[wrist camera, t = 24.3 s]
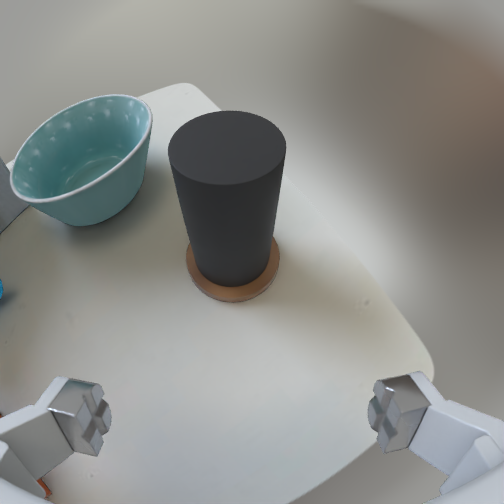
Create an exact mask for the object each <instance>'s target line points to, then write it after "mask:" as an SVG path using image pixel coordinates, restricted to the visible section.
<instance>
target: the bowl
mask: <svg viewBox="0 0 504 504" xmlns="http://www.w3.org/2000/svg"><path fill="white" fill-rule="evenodd" d="M151 128H152V112H151V110H150V108H149V106H148V105H147V104H146V103H145V102H143V101H142V100H140V99H138V98H136V97H133V96H129V95H120V94H116V95H104V96H98V97H94V98H90V99H87V100H84V101H81V102H78V103H76V104H74V105H72V106H70V107H68V108H66V109H64V110H62V111H60V112H58V113H57V114H55V115H54V116H52V117H51V118H49V119H48V120H47V121H45V122H44V123H43V124H42V125H40V126H39V127H38V128H37V129H36V130H35V131H34V132H33V133H32V134H31V135H30V137H29V138H28V139H27V140H26V141H25V143H24V144H23V145H22V147H21V148H20V150H19V152H18V153H17V155H16V158H15V159H14V162H13V164H12V168H11V172H10V184H11V188H12V190H13V192H14V193H15V195H16V196H17V197H19V198H20V199H21V200H23V201H25V202H26V203H28V204H30V205H31V206H33V207H35V208H37V209H38V210H40V211H42V212H44V213H46V214H48V215H50V216H52V217H54V218H56V219H58V220H60V221H62V222H64V223H66V224H69V225H73V226H88V225H93V224H97V223H99V222H102V221H104V220H107V219H109V218H110V217H112V216H114V215H115V214H117V213H118V212H119V211H121V210H122V209H123V208H124V207H126V206H127V205H128V204H129V203H130V201H131V200H132V199H133V198H134V196H135V195H136V194H137V192H138V190H139V188H140V186H141V184H142V181H143V177H144V171H145V165H146V160H147V154H148V148H149V141H150V135H151Z"/></svg>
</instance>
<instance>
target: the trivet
mask: <svg viewBox="0 0 504 504" xmlns="http://www.w3.org/2000/svg"><path fill="white" fill-rule="evenodd" d="M186 262H187V267H188V270H189V273H190V276H191V278H192V280H193V282H194V283H195V285H196V286H197V287H198V288H199V289H200V290H201V291H202V292H203V293H205V294H206V295H208V296H210V297H212V298H214V299H217V300H220V301H225V302H240V301H245V300H248V299H251V298H254V297H255V296H257V295H259V294H261V293H262V292H263V291H264V290H266V289H267V288H268V286H269V285H270V284H271V283H272V281H273V280H274V278H275V275H276V273H277V269H278V265H279V249H278V245H277V243H276V241H275V239H274V237H272V244H271V250H270V256H269V261H268V264H267V267H266V269H265V270H264V272H263V273H262V274H261V275H260V276H259V277H258V278H257V279H256V280H254V281H252V282H251V283H249V284H246V285H243V286H238V287H225V286H220V285H217V284H215V283H212V282H211V281H209V280H208V279H206V278H205V277H204V276H203V275H202V274H201V272H200V271H199V269H198V267H197V265H196V262H195V258H194V255H193V251H192V248H191V244H190V243H189V245H188V249H187V254H186Z"/></svg>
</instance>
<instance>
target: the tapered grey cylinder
mask: <svg viewBox="0 0 504 504" xmlns="http://www.w3.org/2000/svg"><path fill="white" fill-rule="evenodd" d="M285 154H286V141H285V138H284V136H283V134H282V132H281V131H280V130H279V129H278V128H277V127H276V126H275V125H274V124H273V123H272V122H270V121H268V120H267V119H265V118H263V117H261V116H258V115H255V114H251V113H248V112H242V111H219V112H212V113H208V114H205V115H201V116H199V117H196V118H194V119H192V120H190V121H188V122H187V123H185V124H184V125H183V126H181V127H180V128H179V129H178V130H177V131H176V132H175V134H174V135H173V136H172V138H171V140H170V143H169V146H168V156H169V161H170V165H171V169H172V173H173V178H174V182H175V186H176V190H177V194H178V198H179V202H180V206H181V210H182V214H183V218H184V222H185V225H186V229H187V233H188V237H189V240H190V244H191V248H192V251H193V255H194V258H195V262H196V265H197V267H198V269H199V271H200V272H201V274H202V275H203V276H204V277H205V278H206V279H208V280H209V281H211V282H212V283H215V284H217V285H220V286H225V287H238V286H243V285H246V284H249V283H251V282H252V281H254V280H256V279H257V278H258V277H259V276H260V275H261V274H262V273H263V272H264V270H265V269H266V267H267V264H268V261H269V256H270V250H271V244H272V237H273V231H274V225H275V219H276V212H277V206H278V200H279V193H280V187H281V180H282V174H283V167H284V160H285Z"/></svg>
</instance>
